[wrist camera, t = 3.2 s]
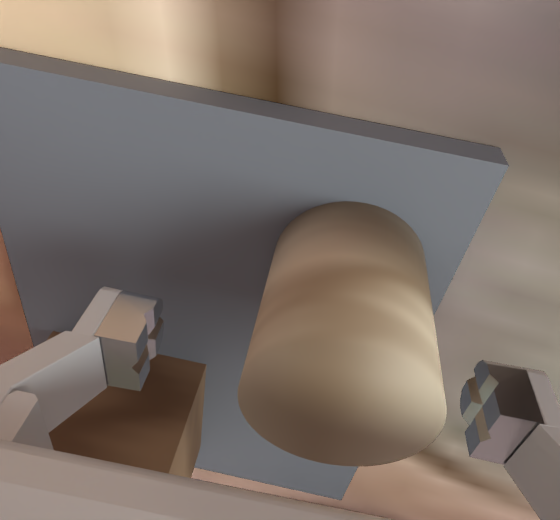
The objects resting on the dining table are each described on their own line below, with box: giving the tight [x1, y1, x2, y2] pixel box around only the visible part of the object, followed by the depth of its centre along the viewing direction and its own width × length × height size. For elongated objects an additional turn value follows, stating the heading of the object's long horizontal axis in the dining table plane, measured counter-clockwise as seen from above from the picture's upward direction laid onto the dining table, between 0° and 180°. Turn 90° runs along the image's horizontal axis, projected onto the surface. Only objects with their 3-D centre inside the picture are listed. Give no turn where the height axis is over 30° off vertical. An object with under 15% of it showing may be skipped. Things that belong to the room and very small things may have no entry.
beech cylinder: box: [237, 201, 447, 466], centre depth 12 cm, size 4×4×5 cm
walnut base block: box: [46, 331, 206, 478], centre depth 18 cm, size 6×6×5 cm
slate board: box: [0, 47, 509, 500], centre depth 18 cm, size 14×18×1 cm
